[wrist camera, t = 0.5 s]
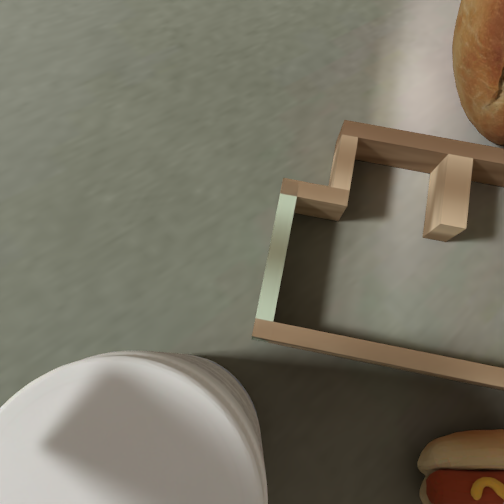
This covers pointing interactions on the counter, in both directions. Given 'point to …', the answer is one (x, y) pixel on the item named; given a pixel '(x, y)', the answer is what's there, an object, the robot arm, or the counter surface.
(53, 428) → the supplement tub
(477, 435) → the food
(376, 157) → the light wood frame
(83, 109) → the counter surface
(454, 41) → the bread roll
